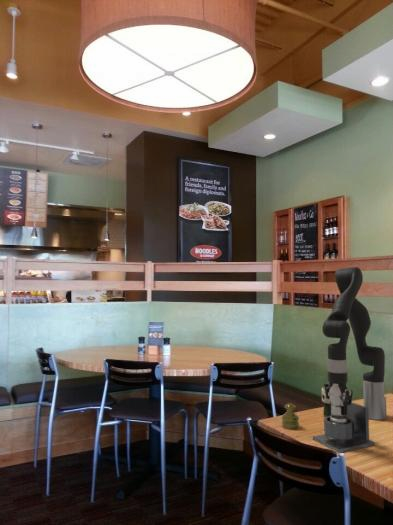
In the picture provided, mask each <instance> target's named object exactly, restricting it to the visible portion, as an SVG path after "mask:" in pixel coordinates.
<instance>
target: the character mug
mask: <svg viewBox="0 0 393 525" xmlns="http://www.w3.org/2000/svg"><path fill="white" fill-rule="evenodd" d="M328 395H329V392H328ZM321 402H322V403H324V404H323V412H322V413H323V414H322V415H323V416H324V417H327V416H331V409H330V401H329V399H326V394H325V388H324V387H321Z"/></svg>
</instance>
